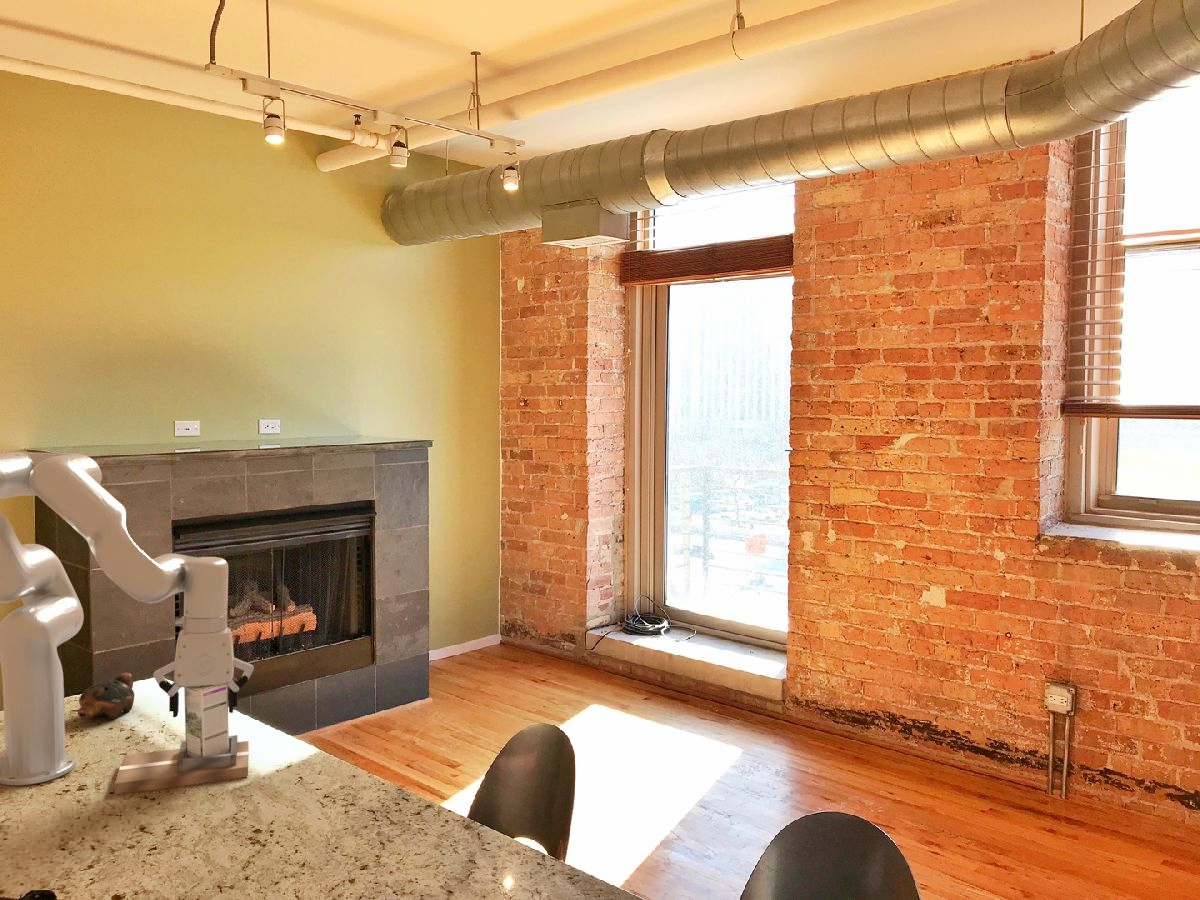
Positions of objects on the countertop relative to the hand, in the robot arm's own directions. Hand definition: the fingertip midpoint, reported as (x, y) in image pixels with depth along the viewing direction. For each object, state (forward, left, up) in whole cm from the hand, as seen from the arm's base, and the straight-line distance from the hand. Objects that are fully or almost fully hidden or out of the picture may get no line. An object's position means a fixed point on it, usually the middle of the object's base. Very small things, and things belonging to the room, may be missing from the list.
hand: (203, 712), depth 170 cm
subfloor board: (-3, 0, -11) cm, 11 cm away
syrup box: (+1, 0, -9) cm, 9 cm away
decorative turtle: (-21, +36, -11) cm, 44 cm away
